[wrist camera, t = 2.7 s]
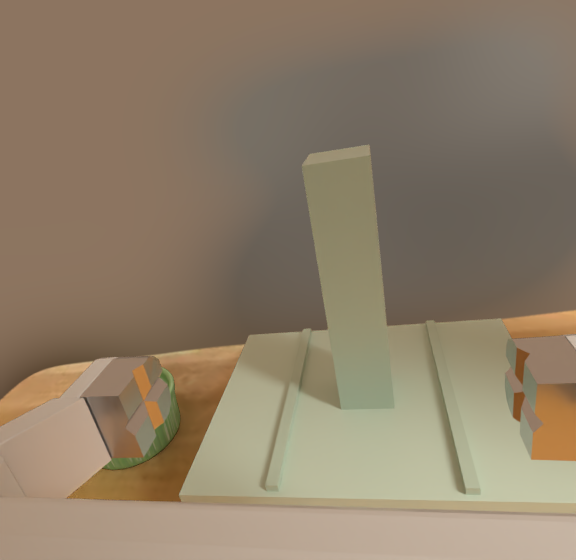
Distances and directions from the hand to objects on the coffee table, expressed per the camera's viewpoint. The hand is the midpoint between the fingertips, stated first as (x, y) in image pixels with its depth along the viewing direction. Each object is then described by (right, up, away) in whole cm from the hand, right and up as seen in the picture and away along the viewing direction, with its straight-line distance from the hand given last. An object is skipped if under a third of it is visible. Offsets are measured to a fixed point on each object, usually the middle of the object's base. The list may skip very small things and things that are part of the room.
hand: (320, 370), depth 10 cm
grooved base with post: (+4, -5, +16) cm, 18 cm away
